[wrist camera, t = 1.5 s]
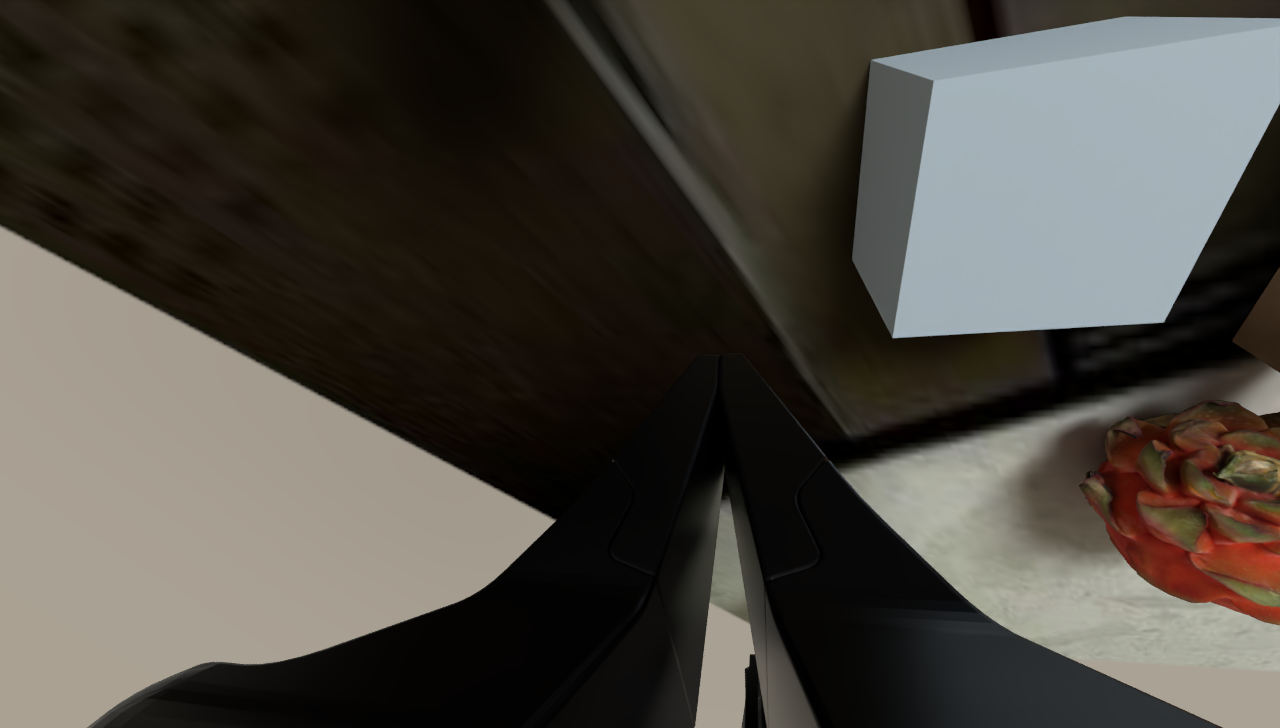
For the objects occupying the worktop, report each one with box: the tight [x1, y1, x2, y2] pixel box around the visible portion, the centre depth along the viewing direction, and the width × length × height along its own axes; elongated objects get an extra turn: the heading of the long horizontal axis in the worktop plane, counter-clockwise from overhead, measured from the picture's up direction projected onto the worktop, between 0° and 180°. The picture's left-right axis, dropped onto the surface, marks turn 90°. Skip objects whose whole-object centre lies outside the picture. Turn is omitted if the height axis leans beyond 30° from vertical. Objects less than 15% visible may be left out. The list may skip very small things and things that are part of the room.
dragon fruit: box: [1079, 400, 1280, 625], centre depth 20 cm, size 8×8×12 cm
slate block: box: [852, 17, 1280, 338], centre depth 15 cm, size 7×7×6 cm
